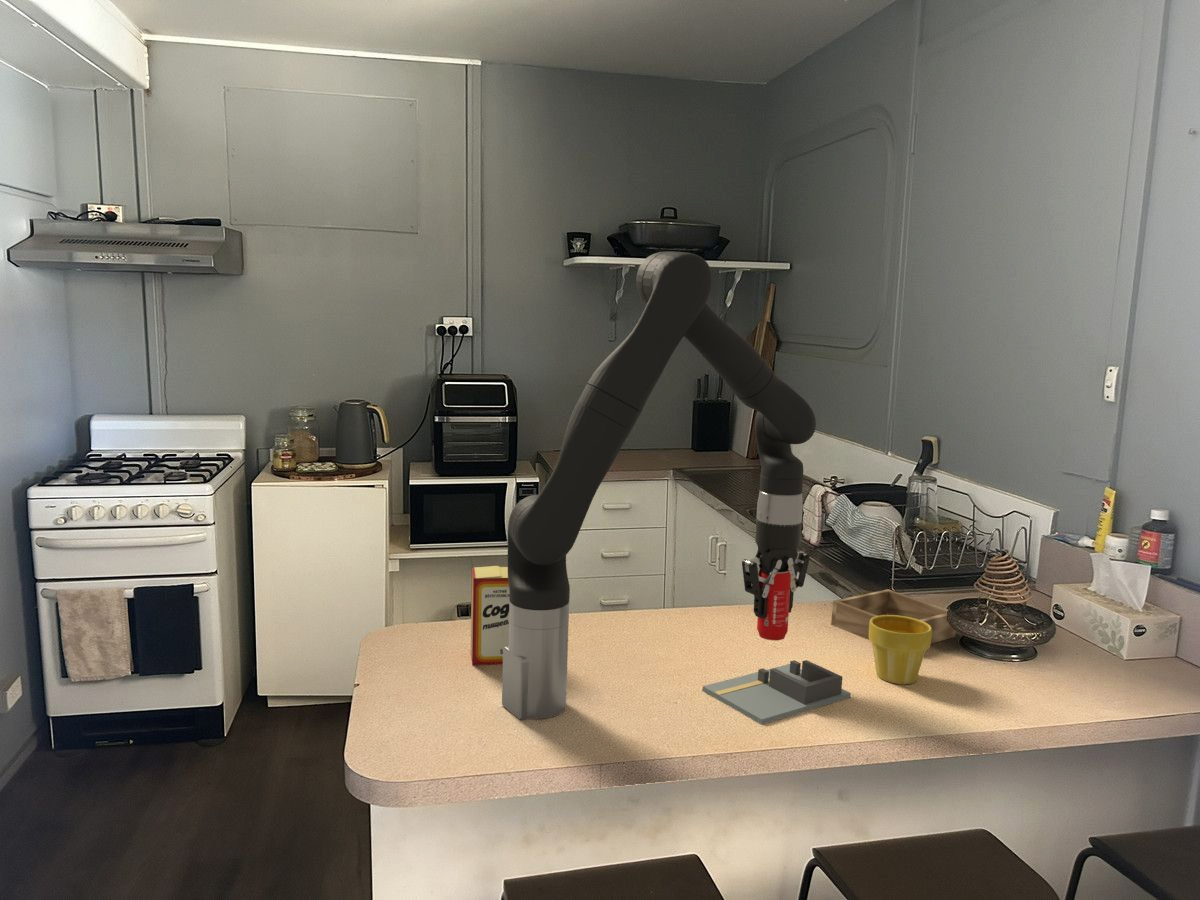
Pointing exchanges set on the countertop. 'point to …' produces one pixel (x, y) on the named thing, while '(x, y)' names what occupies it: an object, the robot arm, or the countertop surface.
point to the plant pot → (899, 646)
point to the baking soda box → (489, 614)
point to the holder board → (780, 691)
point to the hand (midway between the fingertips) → (773, 614)
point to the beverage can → (776, 608)
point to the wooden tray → (862, 608)
